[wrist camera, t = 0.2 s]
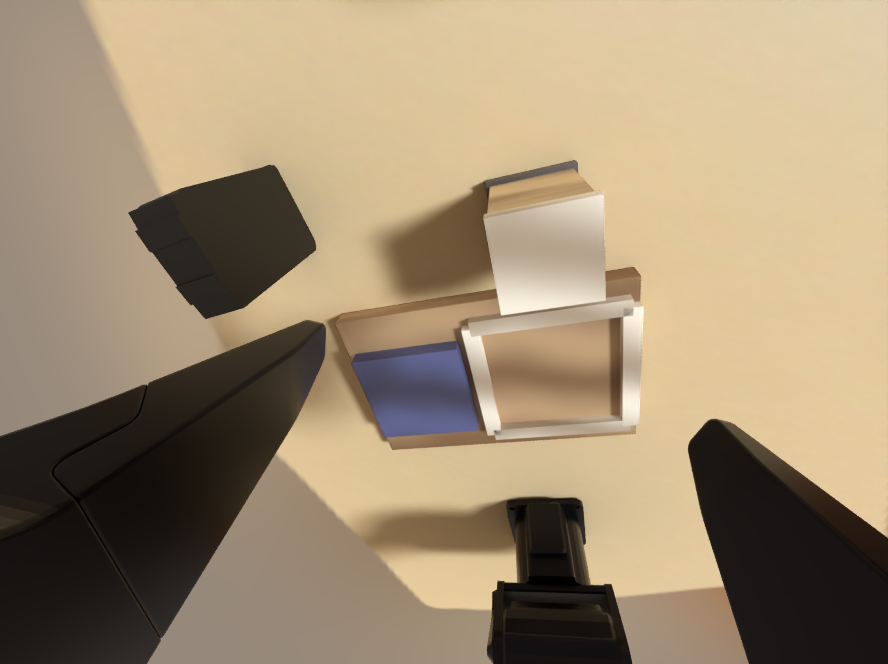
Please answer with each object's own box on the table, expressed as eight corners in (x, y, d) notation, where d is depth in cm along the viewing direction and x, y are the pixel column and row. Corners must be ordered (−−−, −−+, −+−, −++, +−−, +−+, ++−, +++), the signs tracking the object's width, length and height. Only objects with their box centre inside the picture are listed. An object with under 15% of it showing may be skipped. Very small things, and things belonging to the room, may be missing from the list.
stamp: (579, 245, 21) (608, 302, 15) (499, 259, 22) (499, 317, 16) (574, 160, 18) (606, 190, 13) (485, 180, 19) (480, 216, 14)
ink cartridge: (242, 176, 21) (117, 212, 14) (275, 162, 20) (161, 193, 13) (287, 258, 23) (199, 322, 16) (318, 248, 22) (240, 311, 16)
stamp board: (630, 421, 27) (640, 445, 25) (395, 438, 31) (389, 460, 29) (634, 267, 21) (647, 284, 19) (341, 313, 25) (328, 331, 23)
